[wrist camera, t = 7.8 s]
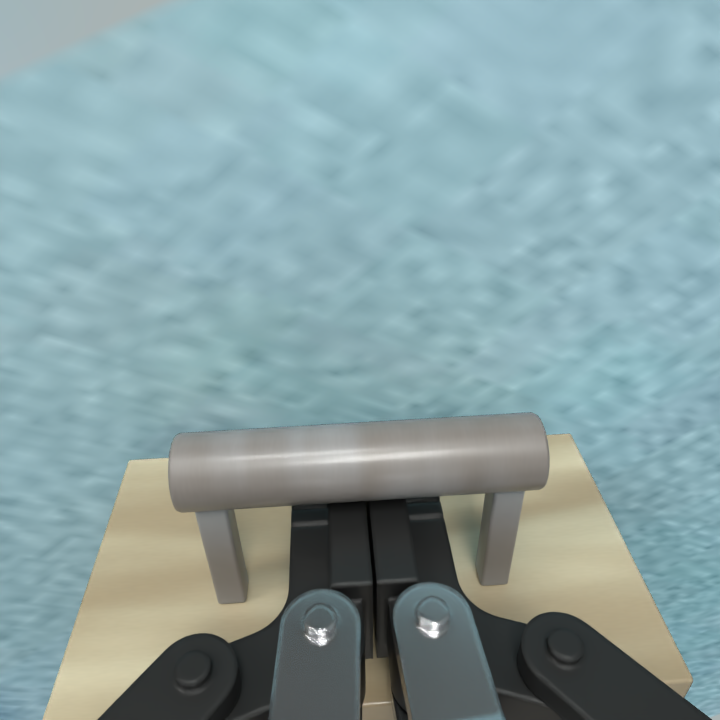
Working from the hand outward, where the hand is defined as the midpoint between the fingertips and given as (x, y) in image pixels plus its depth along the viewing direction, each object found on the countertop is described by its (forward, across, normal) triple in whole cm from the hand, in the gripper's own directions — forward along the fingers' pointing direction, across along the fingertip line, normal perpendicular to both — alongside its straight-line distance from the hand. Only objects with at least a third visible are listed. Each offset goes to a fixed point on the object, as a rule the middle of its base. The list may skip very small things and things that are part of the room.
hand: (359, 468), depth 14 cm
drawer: (+3, 0, +7) cm, 7 cm away
